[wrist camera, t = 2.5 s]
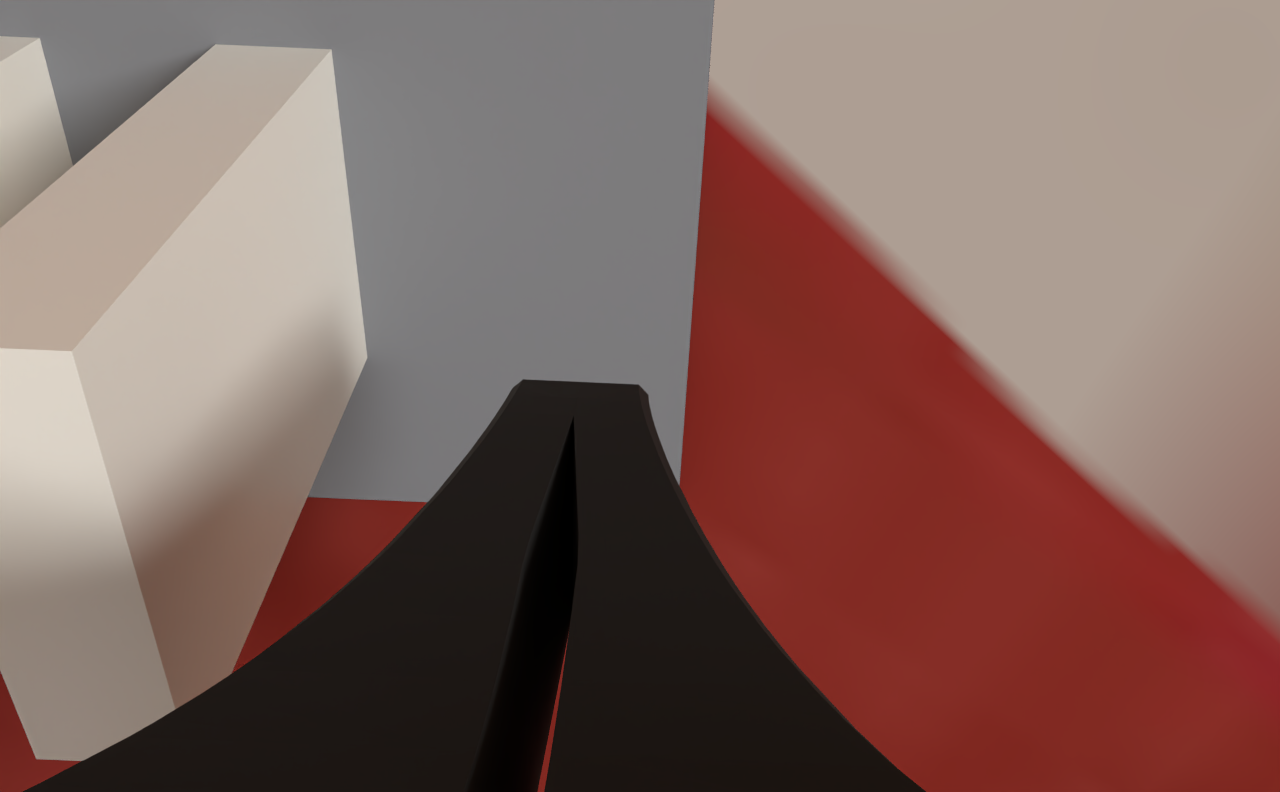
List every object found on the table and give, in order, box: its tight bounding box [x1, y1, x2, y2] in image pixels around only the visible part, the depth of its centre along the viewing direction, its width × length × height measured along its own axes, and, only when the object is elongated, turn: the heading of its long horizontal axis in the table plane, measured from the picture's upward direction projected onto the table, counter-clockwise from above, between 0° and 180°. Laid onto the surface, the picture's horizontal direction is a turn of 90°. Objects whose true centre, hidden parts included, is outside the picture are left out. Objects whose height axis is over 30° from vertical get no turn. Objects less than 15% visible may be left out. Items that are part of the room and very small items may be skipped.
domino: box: [0, 44, 367, 761], centre depth 13 cm, size 2×5×8 cm, turn 178°
